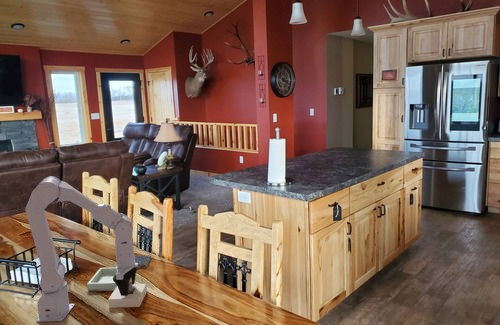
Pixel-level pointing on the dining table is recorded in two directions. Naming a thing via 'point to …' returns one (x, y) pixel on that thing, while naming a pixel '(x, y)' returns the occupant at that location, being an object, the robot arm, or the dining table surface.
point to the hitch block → (128, 297)
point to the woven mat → (143, 261)
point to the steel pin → (130, 287)
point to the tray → (103, 280)
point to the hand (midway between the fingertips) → (127, 289)
